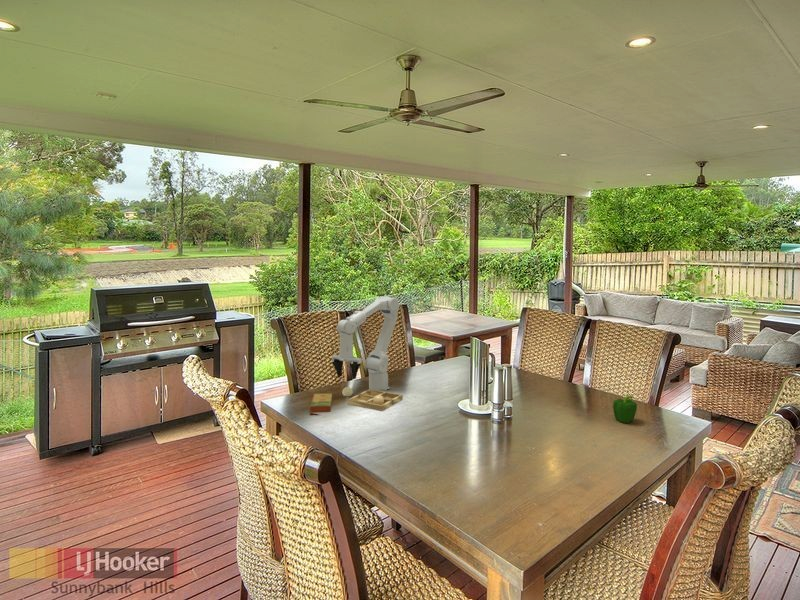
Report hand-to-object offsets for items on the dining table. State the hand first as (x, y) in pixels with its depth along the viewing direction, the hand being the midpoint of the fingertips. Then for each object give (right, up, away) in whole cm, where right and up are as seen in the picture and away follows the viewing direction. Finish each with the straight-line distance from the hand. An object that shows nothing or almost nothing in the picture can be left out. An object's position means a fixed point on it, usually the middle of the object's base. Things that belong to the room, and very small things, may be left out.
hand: (346, 377), depth 214 cm
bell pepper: (+110, -13, -26) cm, 114 cm away
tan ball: (+14, -10, -13) cm, 22 cm away
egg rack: (+13, -10, -7) cm, 18 cm away
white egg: (0, -9, +2) cm, 9 cm away
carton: (-9, -11, -12) cm, 19 cm away
